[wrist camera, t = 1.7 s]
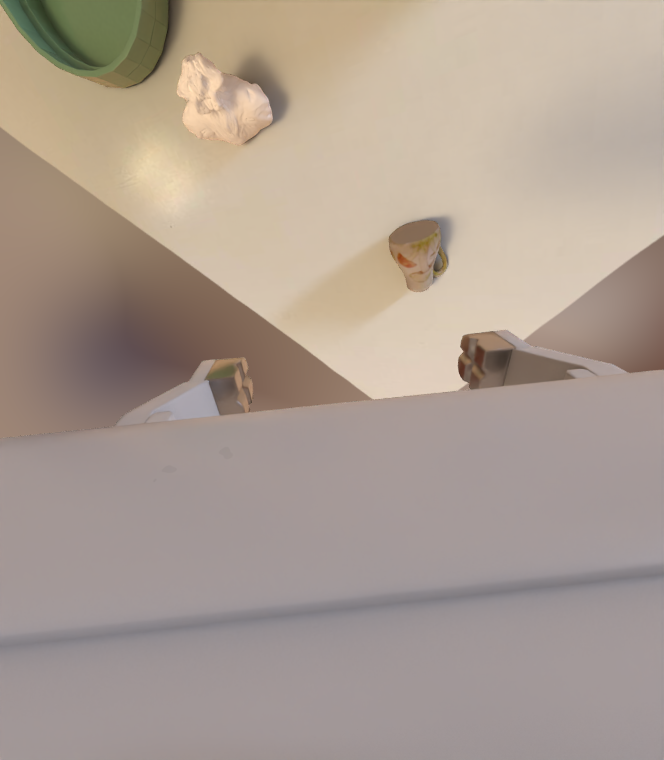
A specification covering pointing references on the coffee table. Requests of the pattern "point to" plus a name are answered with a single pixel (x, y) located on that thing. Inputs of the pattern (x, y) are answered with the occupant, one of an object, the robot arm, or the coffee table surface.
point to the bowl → (95, 36)
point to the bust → (221, 103)
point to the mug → (418, 253)
